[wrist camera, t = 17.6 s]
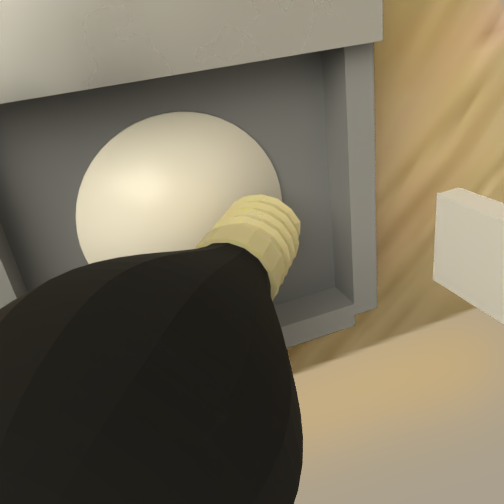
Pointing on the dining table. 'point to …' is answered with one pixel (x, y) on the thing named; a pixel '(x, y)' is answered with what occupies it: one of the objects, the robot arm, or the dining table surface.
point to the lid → (163, 38)
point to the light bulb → (156, 375)
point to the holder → (201, 175)
